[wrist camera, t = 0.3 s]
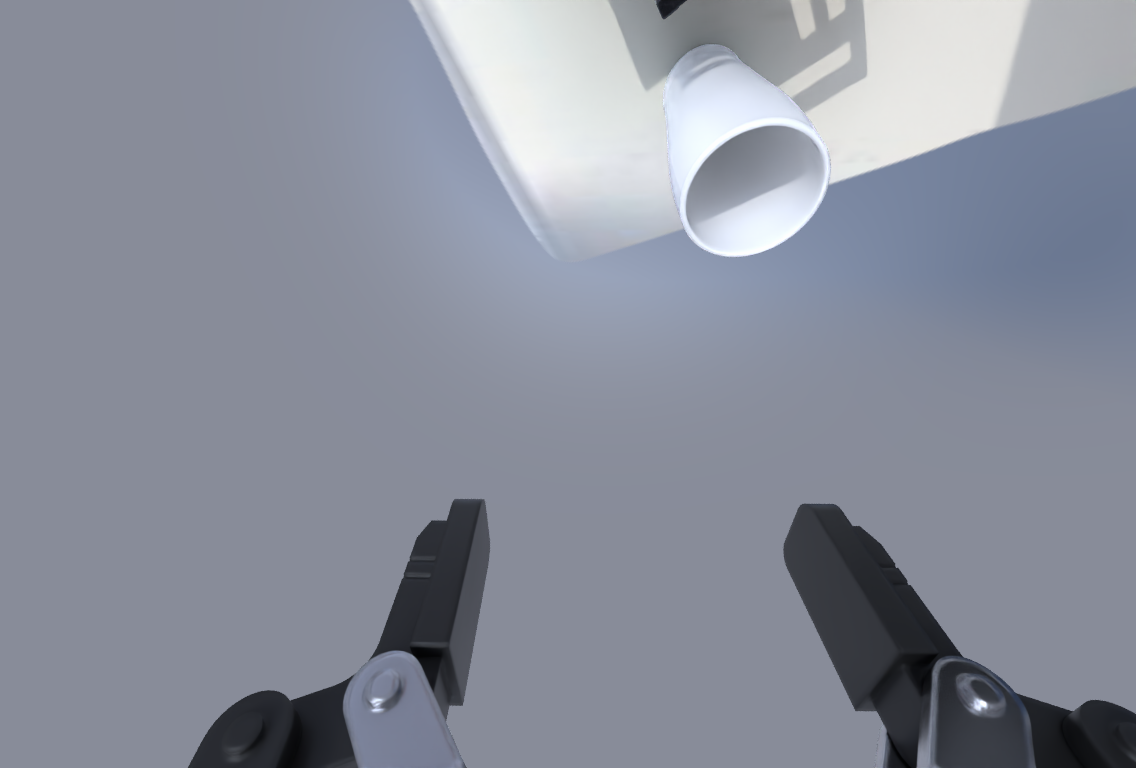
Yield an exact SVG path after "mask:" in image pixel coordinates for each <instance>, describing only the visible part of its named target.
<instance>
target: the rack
mask: <svg viewBox="0 0 1136 768" xmlns="http://www.w3.org/2000/svg"><path fill="white" fill-rule="evenodd" d="M685 1H687V0H655V3H656V5H657V7H658V9H659V12H660V14H661V16H662V18H663V19H666V18H667V17H668V16H670V15H671V14H672V13H673V12H674V11H676V10H677V9H678V8H679V6H680V5H682V4H683V3H684V2H685Z"/></svg>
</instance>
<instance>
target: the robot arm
mask: <svg viewBox="0 0 1136 768" xmlns="http://www.w3.org/2000/svg"><path fill="white" fill-rule="evenodd" d="M489 553H490V538H489V529H488V521H487V513H486V505H485V501H484V499H455V500H454V501H453V503H452V506H451V509H450V512H449V515H448V519H447V521H431V522H430V523H429V524H428V525H427V527H426V528H425V529H424V530H423V531H422V532H421V534H420V535H419V536H418V537H417V539H416V542H415V545H414V547H413V551H412V553H411V556H410V561H409V562H408V564H407V567H406V570H405V572H404V578H403V579H402V581H401V584H400V586H399V589H398V592H397V595H396V597H395V600H394V603H393V606H392V609H391V611H390V614H389V617H388V620H387V622H386V625H385V628H384V631H383V634H382V636H381V639H380V642H379V644H378V646H377V649H376V650H375V652H374V654H373V655H372V657H371V658H370V659H369V661H368V662H367V663H365V664H364V665H363V666H362V667H361V668H360V669H359V670H358V672H357V673H356V674H355V675H353V676H351V677H350V678H349V679H347V680H345V681H343V682H342V683H340V684H337V685H335V686H333V687H329V688H326V689H323V690H320V691H317V692H314V693H312V694H309V695H306V696H303V697H300V698H297V699H294V700H291V701H290V700H289V699H288V698H287V697H286V696H285V695H284V694H282V693H280V692H277V691H269V690H268V691H261V692H257V693H254V694H251V695H249V696H247V697H245V698H243V699H241V700H240V701H238V702H237V703H235V704H234V705H232V706H231V707H230V708H229V709H227V711H225V712H224V713H223V714H222V715H221V716H220V717H219V718H218V719H217V720H216V721H215V722H214V724H213V725H212V727H211V728H210V729H209V730H208V732H207V734H206V735H205V737H204V739H203V741H202V742H201V744H200V746H199V748H198V750H197V752H196V754H195V755H194V757H193V759H192V761H191V763H190V765H189V767H188V768H466V766H465V764H464V762H463V760H462V758H461V755H460V753H459V750H458V748H457V746H456V744H455V741H454V739H453V737H452V735H451V732H450V730H449V728H448V726H447V724H446V719H447V714H448V709H449V705H456V706H457V705H459V706H461V705H463V702H464V696H465V690H466V685H467V679H468V674H469V668H470V663H471V657H472V652H473V646H474V640H475V635H476V630H477V624H478V618H479V613H480V607H481V602H482V596H483V591H484V585H485V579H486V574H487V568H488V561H489ZM784 559H785V563H786V566H787V569H788V571H789V573H790V575H791V577H792V579H793V581H794V583H795V586H796V588H797V590H798V592H799V594H800V596H801V598H802V600H803V602H804V604H805V606H806V609H807V611H808V613H809V615H810V617H811V619H812V621H813V623H814V625H815V627H816V629H817V632H818V633H819V636H820V638H821V640H822V641H823V644H824V646H825V648H826V650H827V652H828V654H829V657H830V658H831V660H832V662H833V665H834V667H835V669H836V671H837V673H838V675H839V677H840V679H841V682H842V683H843V686H844V688H845V690H846V692H847V694H848V696H849V698H850V700H851V702H852V705H853V706H854V709H855V711H877V712H878V714H879V716H880V718H881V720H882V722H883V725H882V726H881V728H880V731H879V737H878V744H877V753H876V759H875V767H874V768H1136V714H1135V713H1133V712H1131V711H1129V710H1127V709H1125V708H1123V707H1121V706H1118V705H1115V704H1113V703H1109V702H1106V701H1100V700H1091V701H1087V702H1085V703H1084V704H1083V705H1081V706H1080V707H1079V708H1077V709H1076V710H1075V711H1070V710H1066V709H1063V708H1060V707H1057V706H1054V705H1051V704H1048V703H1044V702H1041V701H1038V700H1035V699H1032V698H1029V697H1026V696H1023V695H1020V694H1017V693H1015V692H1014V691H1013V690H1012V688H1011V687H1010V686H1009V685H1008V684H1007V683H1006V682H1005V681H1003V680H1002V679H1001V678H1000V677H998V676H997V675H996V674H995V673H993V672H992V671H991V670H989V669H988V668H986V667H984V666H982V665H981V664H979V663H977V662H974V661H972V660H970V659H967V658H964V657H963V656H962V655H961V654H960V652H959V651H958V650H957V649H956V647H955V646H954V644H953V643H952V642H951V640H950V639H949V638H948V636H947V635H946V633H945V632H944V631H943V629H942V628H941V626H940V625H939V624H938V622H937V621H936V620H935V619H934V617H933V615H932V614H931V613H930V611H929V610H928V609H927V607H926V606H925V604H924V603H923V602H922V600H921V599H920V597H919V596H918V595H917V593H916V592H915V591H914V589H913V588H912V587H911V585H908V583H907V580H906V578H905V577H904V575H903V574H902V573H901V571H900V570H899V569H898V568H896V567H895V563H894V562H893V560H892V559H891V558H890V556H889V555H888V553H887V552H886V551H885V549H884V548H883V546H882V545H881V544H880V543H879V542H877V540H875V539H874V538H873V537H872V536H871V535H870V534H868V533H867V532H866V531H865V530H863V529H862V528H861V527H860V526H852V525H851V523H850V522H849V520H848V519H847V517H846V516H845V515H844V513H843V512H842V510H841V509H840V508H839V507H838V506H837V505H834V504H802V505H800V507H799V508H798V510H797V513H796V515H795V518H794V520H793V523H792V525H791V528H790V530H789V533H788V535H787V538H786V540H785V543H784Z"/></svg>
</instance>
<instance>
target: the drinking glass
mask: <svg viewBox="0 0 1136 768" xmlns="http://www.w3.org/2000/svg"><path fill="white" fill-rule="evenodd" d="M663 107H664V112H665V116H666V128H667V145H668V164H669V175H670V182H671V187H672V192H673V196H674V200H675V204H676V207H677V210H678V213H679V216H680V218H681V221H682V224H683V227H684V229H685V231H686V233H687V234H688V236H689V237H690V239H691V240H692V241H693V242H694V243H695V244H696V245H697V246H699V247H700V248H702V249H703V250H705V251H707V252H709V253H712V254H715V255H718V256H723V257H744V256H751V255H755V254H759V253H761V252H764V251H767V250H770V249H772V248H774V247H776V246H778V245H779V244H781V243H783V242H785V241H786V240H788V239H789V238H790V237H792V236H793V235H794V234H796V233H797V232H798V231H799V230H800V229H801V228H802V227H803V226H804V225H805V224H806V223H807V222H808V221H809V220H810V219H811V217H812V216H813V215H814V213H815V212H816V210H817V209H818V207H819V206H820V204H821V202H822V200H823V198H824V196H825V193H826V191H827V188H828V184H829V180H830V172H831V163H830V156H829V152H828V149H827V147H826V144H825V143H824V141H823V139H822V138H821V136H820V135H819V133H818V132H817V130H816V128H815V127H814V125H813V124H812V122H811V121H810V120H809V118H808V117H807V116H806V114H805V113H804V112H803V111H802V109H801V108H800V107H799V106H798V105H797V104H796V103H795V102H794V101H793V100H792V99H791V98H790V97H789V96H788V95H787V94H786V93H784V92H783V91H782V90H781V89H779V88H778V87H777V86H775V85H774V84H772V83H771V82H770V81H768V80H767V79H765V78H764V77H763V76H761V75H760V74H758V73H757V72H756V71H754V70H753V69H752V68H750V67H749V66H748V65H746V64H745V63H744V62H743V61H741V60H740V58H739V57H738V56H737V55H736V54H735V53H734V52H733V51H732V50H731V49H729V48H727V47H725V46H723V45H718V44H706V45H702V46H699V47H696V48H694V49H692V50H691V51H689V52H688V53H686V54H685V55H684V56H683V57H681V58H680V60H679V61H678V62H677V63H676V64H675V65H674V67H673V68H672V70H671V72H670V74H669V76H668V78H667V80H666V83H665V87H664V92H663Z"/></svg>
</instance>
